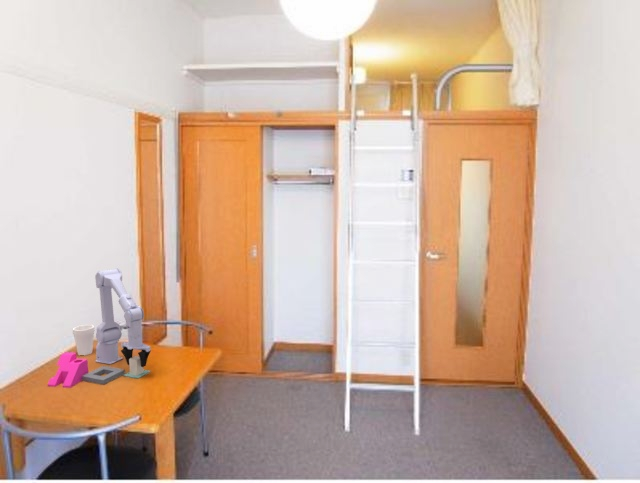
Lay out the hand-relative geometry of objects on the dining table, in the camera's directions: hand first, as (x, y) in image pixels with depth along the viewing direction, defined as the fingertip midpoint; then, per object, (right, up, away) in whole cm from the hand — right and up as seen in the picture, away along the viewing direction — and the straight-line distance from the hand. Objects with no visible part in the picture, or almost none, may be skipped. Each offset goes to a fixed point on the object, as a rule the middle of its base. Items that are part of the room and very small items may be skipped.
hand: (136, 365), depth 210 cm
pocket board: (-13, -4, -3) cm, 14 cm away
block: (0, -4, 0) cm, 4 cm away
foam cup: (-35, -1, +26) cm, 44 cm away
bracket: (-26, -5, -7) cm, 28 cm away
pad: (0, -4, 0) cm, 4 cm away
